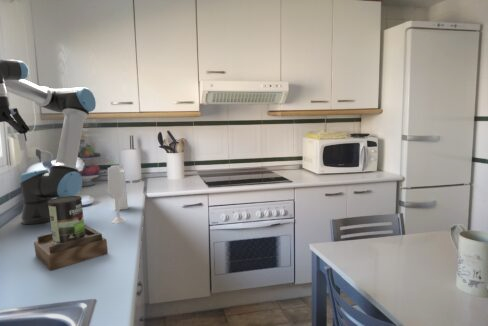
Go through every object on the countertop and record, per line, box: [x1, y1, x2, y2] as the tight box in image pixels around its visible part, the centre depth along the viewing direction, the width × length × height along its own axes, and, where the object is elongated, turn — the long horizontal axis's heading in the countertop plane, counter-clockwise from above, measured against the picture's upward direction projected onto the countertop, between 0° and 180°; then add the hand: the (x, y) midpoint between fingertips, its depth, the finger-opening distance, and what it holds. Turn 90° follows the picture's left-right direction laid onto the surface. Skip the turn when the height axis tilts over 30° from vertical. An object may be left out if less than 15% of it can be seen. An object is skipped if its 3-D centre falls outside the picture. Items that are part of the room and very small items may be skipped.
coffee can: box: [48, 195, 86, 244], centre depth 125 cm, size 10×10×14 cm
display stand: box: [33, 224, 109, 271], centre depth 126 cm, size 18×18×7 cm
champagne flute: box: [107, 166, 127, 224], centre depth 163 cm, size 7×7×24 cm
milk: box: [110, 164, 129, 211], centre depth 185 cm, size 6×6×22 cm
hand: (8, 153), depth 139 cm, fingers open, 13 cm apart
